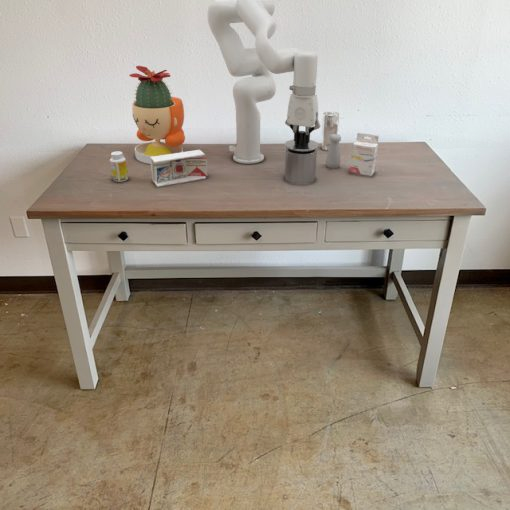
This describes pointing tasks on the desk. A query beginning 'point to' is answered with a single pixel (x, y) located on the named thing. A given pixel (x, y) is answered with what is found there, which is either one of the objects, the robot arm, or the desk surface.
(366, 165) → the ink cartridge box
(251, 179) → the desk surface
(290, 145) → the canister lid
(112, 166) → the supplement bottle
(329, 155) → the salt shaker
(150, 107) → the potted cactus
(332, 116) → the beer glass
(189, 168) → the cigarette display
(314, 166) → the canister
